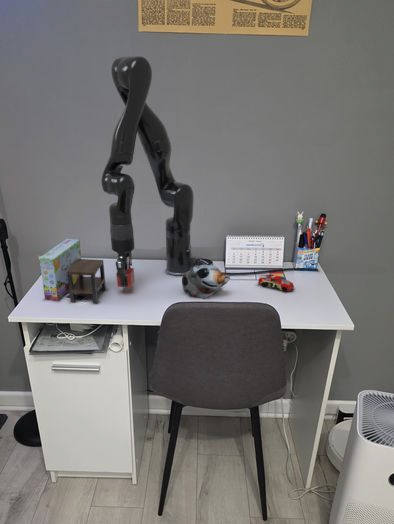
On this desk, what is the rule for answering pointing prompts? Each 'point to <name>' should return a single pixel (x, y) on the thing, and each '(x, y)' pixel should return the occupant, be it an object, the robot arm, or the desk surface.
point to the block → (129, 278)
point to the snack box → (59, 268)
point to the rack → (86, 278)
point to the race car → (275, 282)
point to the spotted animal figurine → (203, 281)
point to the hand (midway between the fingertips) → (126, 282)
